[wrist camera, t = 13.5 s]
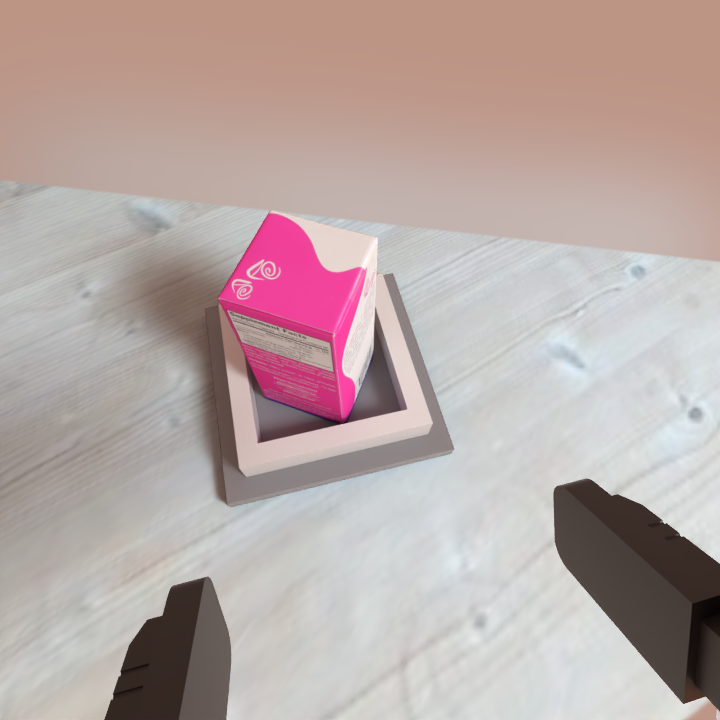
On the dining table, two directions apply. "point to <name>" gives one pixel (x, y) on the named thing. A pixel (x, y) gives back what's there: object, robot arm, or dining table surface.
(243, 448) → the socket
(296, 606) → the dining table surface
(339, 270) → the supplement box
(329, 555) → the dining table surface
